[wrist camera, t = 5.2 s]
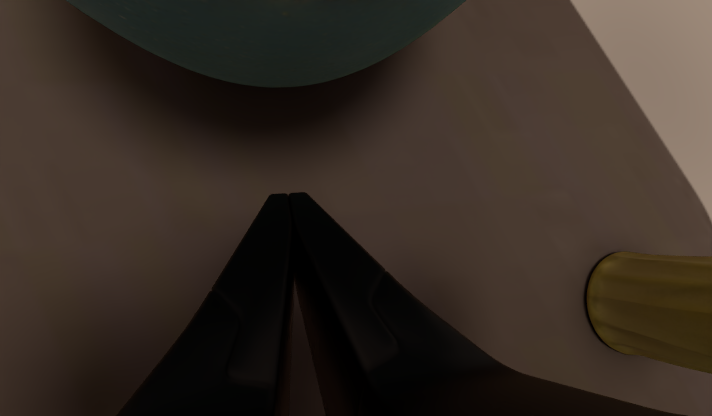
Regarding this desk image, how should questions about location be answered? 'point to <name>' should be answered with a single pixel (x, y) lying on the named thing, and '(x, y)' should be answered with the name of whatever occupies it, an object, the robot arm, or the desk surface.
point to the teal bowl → (270, 34)
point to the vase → (654, 307)
